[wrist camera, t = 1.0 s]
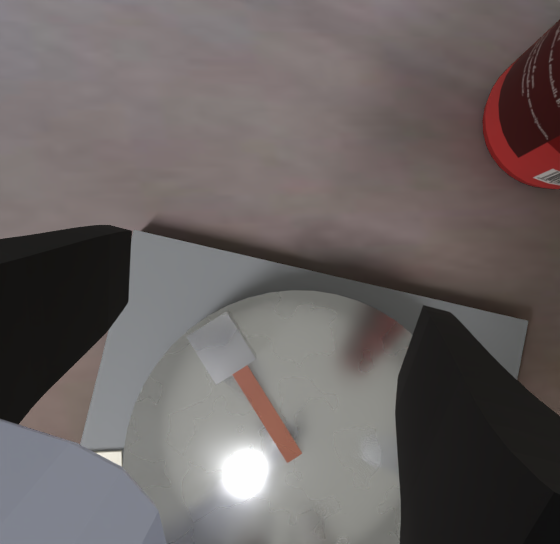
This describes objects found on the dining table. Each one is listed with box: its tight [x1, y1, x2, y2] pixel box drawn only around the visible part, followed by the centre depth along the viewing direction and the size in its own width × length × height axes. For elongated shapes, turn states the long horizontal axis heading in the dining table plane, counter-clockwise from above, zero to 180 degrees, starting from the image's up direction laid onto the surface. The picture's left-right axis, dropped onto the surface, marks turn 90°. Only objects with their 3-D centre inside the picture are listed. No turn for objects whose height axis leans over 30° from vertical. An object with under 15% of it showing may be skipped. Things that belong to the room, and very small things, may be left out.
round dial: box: [123, 290, 413, 544], centre depth 22 cm, size 16×16×4 cm
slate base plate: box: [80, 230, 528, 467], centre depth 25 cm, size 18×21×1 cm
